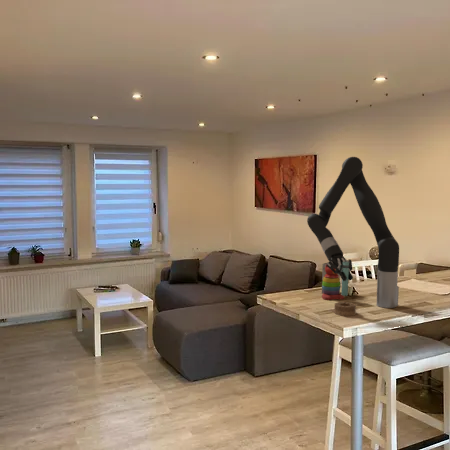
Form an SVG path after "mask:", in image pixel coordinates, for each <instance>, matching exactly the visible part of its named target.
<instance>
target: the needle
mask: <svg viewBox="0 0 450 450" xmlns="http://www.w3.org/2000/svg"><path fill="white" fill-rule="evenodd" d="M342 270H343V272H344V273H345V275H346V277H347V280H346V281H343V280H342V279H341V289H340V294H341V295H343V296H346V297H347V296H348V295H349V294H348V293H349V279H348V276H349V262H343V265H342Z"/></svg>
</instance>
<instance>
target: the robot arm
mask: <svg viewBox="0 0 450 450" xmlns="http://www.w3.org/2000/svg"><path fill="white" fill-rule="evenodd" d="M363 167H364V165H363V162H362V160H361V159H360V158H359V157H357V156H350V157H348V158H346V159H345V160H344V161H343V162H342V165H341V170H340V172H339V174H338V176H337V178H336V180H335V181H334V183H333V185H332V186H331V187H330V188H329V190H328V191H327V193H326V194H325V195H324V197H323V199H322V200H321V201H320V203H319V205H318V209H319V213H311V214H310V215H308V216H307V220H306V221H307V223H306V224H307V225H308V227H309V229H310V230H311V232H312V233H313V234H314V236H315V237H316V239H317V240H318V242H319V244H320V247H321V249H322V251H323V252H324V253H323V254H324V255H325V257H326V259H327V260H328V263H327V262H326V263H327V266H328V267H329V268H330V269H331V270H332V271H333V272H334V273H335V274H336V273H337V274H339V278H340V279H341V281H342V280H343V281H346V280H347V277H346V275H345V273H344V272H343V270H342V265H343V262H349V276H348V282H349V281H352V280H353V279H354V278H353V274H352V272H351V271H353V262H352V260H351V259H347V258H346V257H344V252H343V250H342V248H341V247H340V244H339V243H338V241H337V240H336V239H335V237H334V235H333V234H332V231H330V229H328V228H327V226H328V224H329V221H330V219H331V215H332V213H333V211H335V208H336V207H337V206H338V203H339V202H340V200H341V199H342V197H343V195H344V193H345V191H346V190H347V188H349V185H350V186H351V189H352V190H353V194H354V196H355V200H356V202H357V204H358V207H359V209H360V211H361V212H360V213H361V214H362V216H363V218H364V220H365V221H366V223H367V225H368V226H369V227H370V229H371V231H372V233H373V235H374V238H375V241H376V245H377V248H378V255H377V258H378V259H377V275H376V276H377V278H376V279H377V280H376V284H377V285H376V306H377V307H380V308H386V309H391V308H393V309H394V308H396V307H397V306H399V288H400V287H399V285H398V280H399V279H398V274H399V264H400V245H399V243H398V241H397V239H395V237H394V235H393V234H392V232H391V230H390V229H389V227H388V224H387V222H386V217H385V215H384V211H383V208H382V206H381V204H380V202H379V199H378V197H377V196H376V194H375V192H374V191H373V189H372V188H371V186H370V185H369V184H368V182H367V179H366V178H365V175H364V172H363ZM334 269H335V270H334Z"/></svg>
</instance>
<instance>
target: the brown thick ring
mask: <svg viewBox="0 0 450 450" xmlns="http://www.w3.org/2000/svg"><path fill="white" fill-rule="evenodd" d="M356 307H357V305H356V304H355V303H352V302H346V301H339V302H336V303H334V314H335V315H337V316H342V317H353V316H355V315H356V309H357V308H356Z"/></svg>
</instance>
